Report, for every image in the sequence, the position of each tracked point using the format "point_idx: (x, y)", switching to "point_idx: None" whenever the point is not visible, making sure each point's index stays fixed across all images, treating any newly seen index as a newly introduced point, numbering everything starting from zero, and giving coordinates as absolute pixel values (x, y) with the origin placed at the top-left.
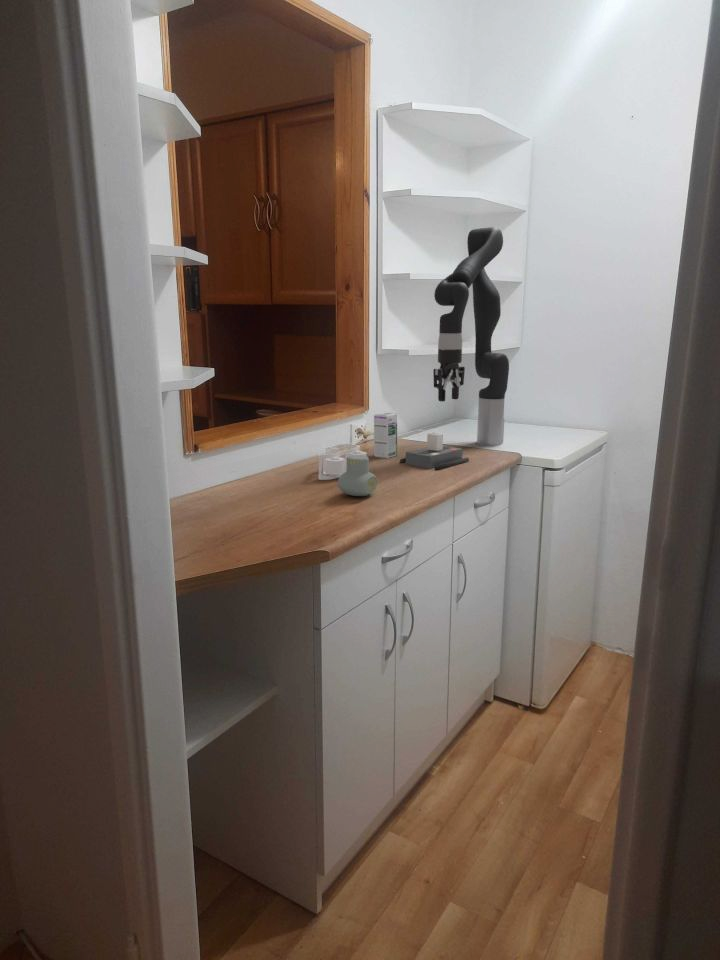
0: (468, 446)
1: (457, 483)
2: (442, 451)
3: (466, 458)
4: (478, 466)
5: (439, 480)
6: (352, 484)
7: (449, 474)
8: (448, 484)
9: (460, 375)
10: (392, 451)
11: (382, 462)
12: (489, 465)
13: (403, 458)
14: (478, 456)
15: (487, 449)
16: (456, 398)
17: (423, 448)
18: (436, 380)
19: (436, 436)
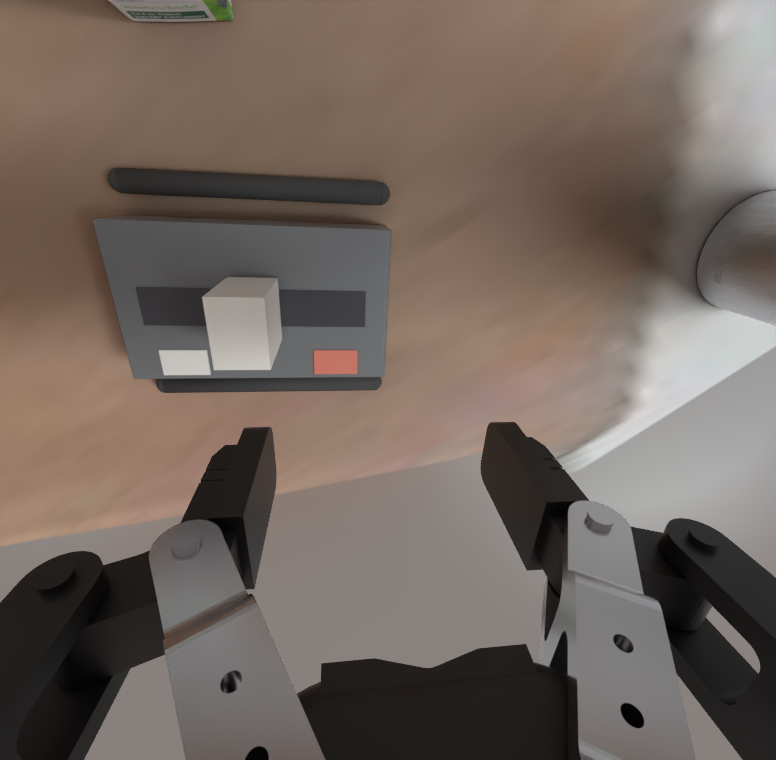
0: (681, 195)
1: (89, 524)
2: None
3: (364, 389)
4: (338, 443)
5: (61, 473)
6: None
7: (157, 447)
8: (53, 516)
9: (770, 750)
10: (168, 9)
11: (39, 72)
12: (377, 457)
13: (129, 181)
14: (492, 353)
15: (645, 302)
16: (483, 472)
17: (249, 232)
18: (2, 716)
19: (215, 361)
